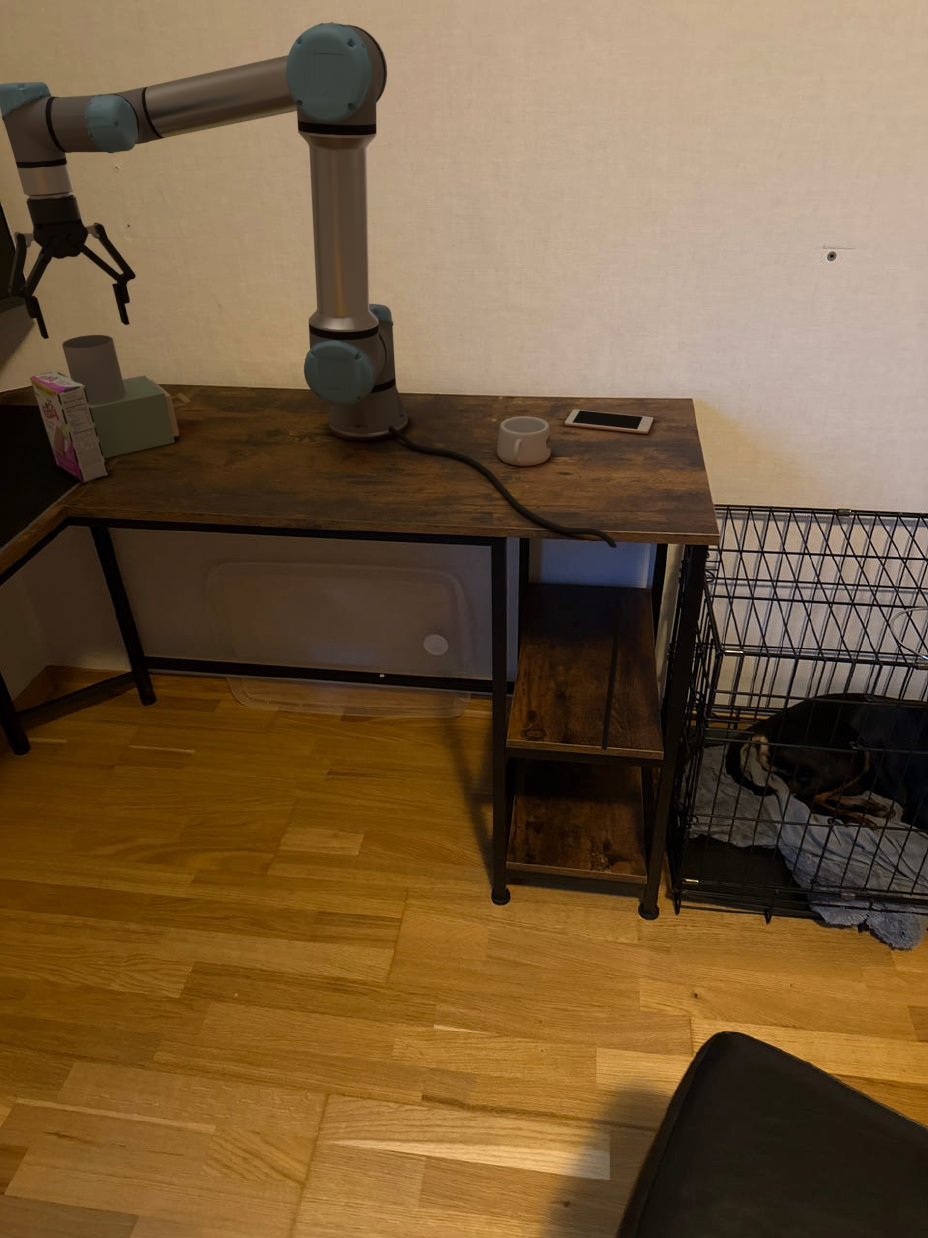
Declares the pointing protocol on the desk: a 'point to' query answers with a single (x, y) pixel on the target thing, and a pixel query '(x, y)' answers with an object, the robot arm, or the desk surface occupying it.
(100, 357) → the cup
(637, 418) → the cell phone
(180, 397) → the drawer
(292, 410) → the desk surface
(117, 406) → the cabinet
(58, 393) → the candy bar box
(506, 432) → the mug
